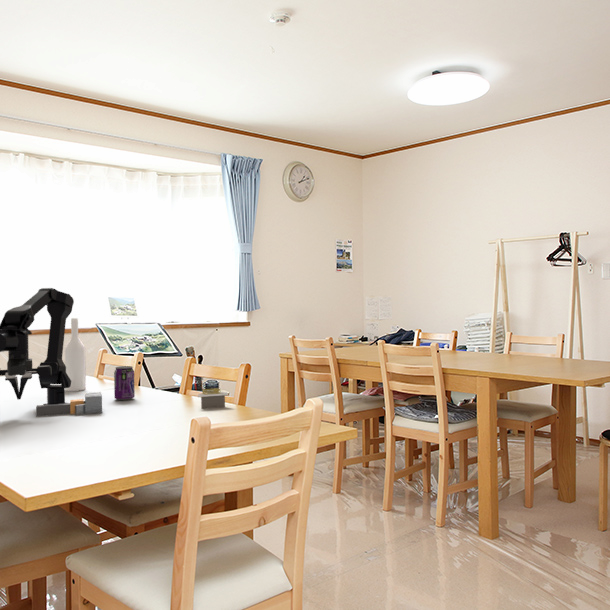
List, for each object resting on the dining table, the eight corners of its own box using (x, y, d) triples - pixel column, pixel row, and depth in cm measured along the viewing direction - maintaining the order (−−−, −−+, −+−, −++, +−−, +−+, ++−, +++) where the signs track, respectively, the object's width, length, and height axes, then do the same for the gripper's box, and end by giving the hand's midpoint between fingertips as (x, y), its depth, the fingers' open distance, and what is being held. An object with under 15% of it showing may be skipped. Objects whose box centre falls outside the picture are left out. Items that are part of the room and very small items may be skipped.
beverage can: (128, 401, 211) (128, 368, 211) (110, 400, 212) (110, 367, 212) (138, 398, 218) (137, 366, 218) (120, 397, 219) (120, 366, 219)
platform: (182, 407, 197) (182, 388, 197) (234, 403, 203) (234, 385, 203) (188, 413, 186) (188, 393, 186) (243, 409, 192) (243, 389, 192)
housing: (75, 415, 184) (74, 397, 184) (75, 410, 193) (75, 393, 193) (102, 413, 187) (101, 395, 187) (101, 408, 196) (100, 391, 196)
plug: (36, 416, 183) (36, 403, 183) (37, 414, 186) (36, 402, 186) (83, 413, 188) (83, 400, 188) (83, 411, 191) (83, 399, 191)
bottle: (63, 391, 239) (62, 318, 239) (67, 388, 246) (66, 318, 247) (84, 390, 240) (83, 318, 240) (87, 388, 248) (86, 318, 248)
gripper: (-20, 352, 172) (-19, 405, 172) (49, 350, 179) (50, 400, 179) (-14, 350, 182) (-13, 400, 182) (51, 348, 189) (51, 395, 189)
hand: (19, 399), depth 183 cm, fingers closed
